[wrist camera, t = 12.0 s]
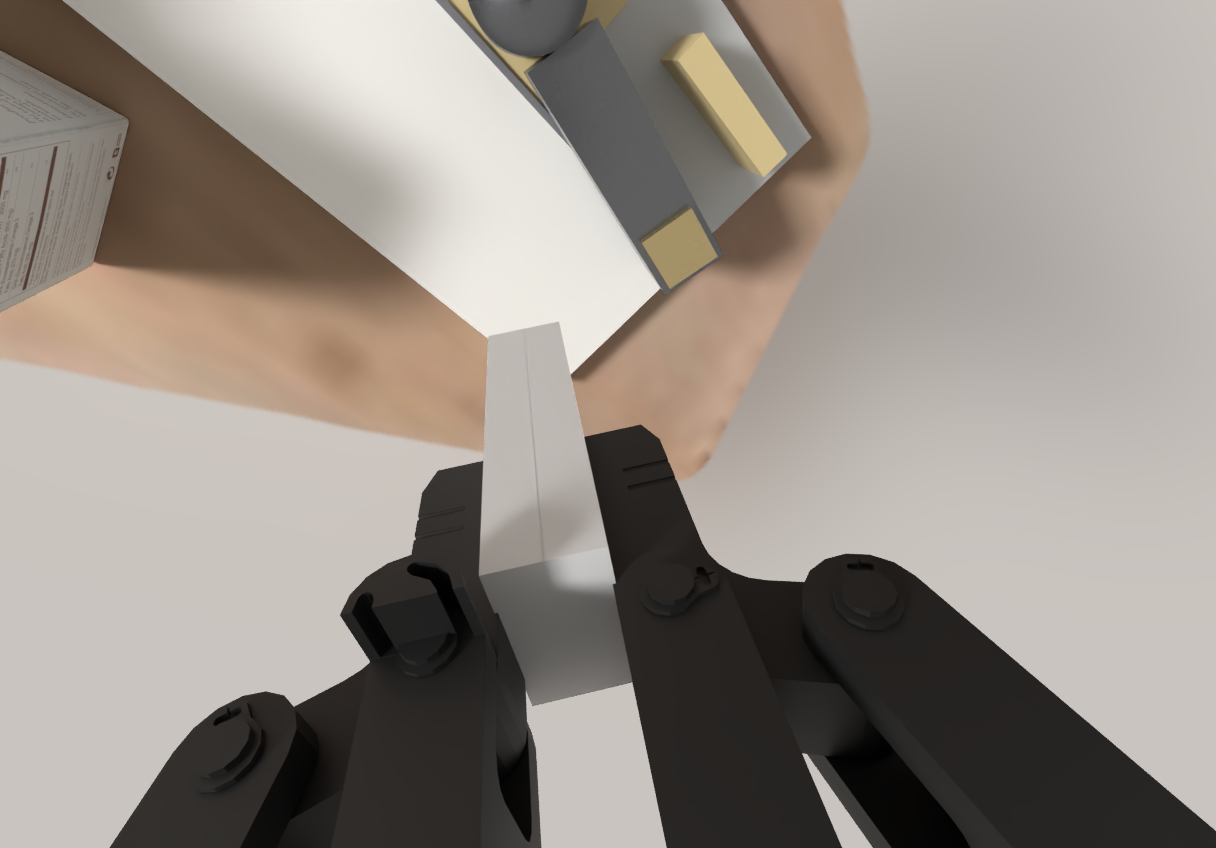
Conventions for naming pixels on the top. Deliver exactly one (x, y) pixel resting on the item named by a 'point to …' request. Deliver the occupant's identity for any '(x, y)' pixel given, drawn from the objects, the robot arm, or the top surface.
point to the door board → (468, 136)
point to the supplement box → (51, 179)
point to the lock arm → (606, 130)
